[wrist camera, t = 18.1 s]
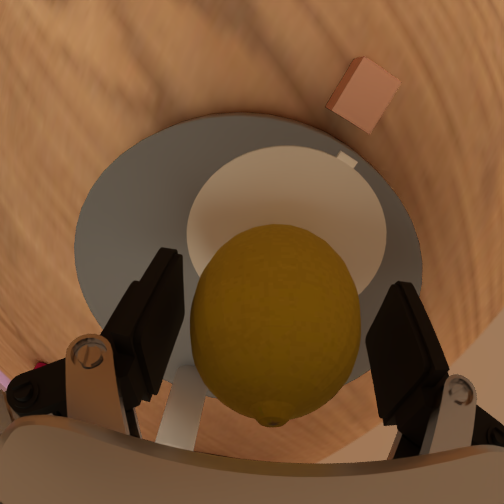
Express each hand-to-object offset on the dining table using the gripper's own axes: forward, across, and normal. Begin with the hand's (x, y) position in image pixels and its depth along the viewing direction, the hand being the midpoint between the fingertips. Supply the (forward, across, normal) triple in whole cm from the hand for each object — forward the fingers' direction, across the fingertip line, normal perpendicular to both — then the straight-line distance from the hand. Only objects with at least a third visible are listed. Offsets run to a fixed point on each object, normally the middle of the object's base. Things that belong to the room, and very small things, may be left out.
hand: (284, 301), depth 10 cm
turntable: (+6, +2, +5) cm, 8 cm away
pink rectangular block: (+7, -3, -7) cm, 11 cm away
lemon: (+4, 0, 0) cm, 4 cm away
